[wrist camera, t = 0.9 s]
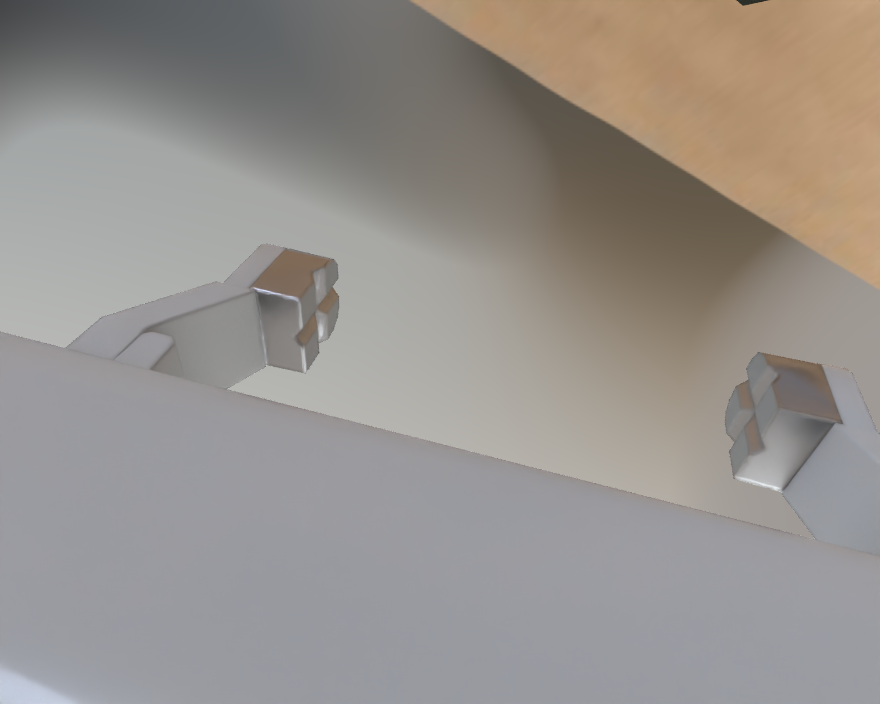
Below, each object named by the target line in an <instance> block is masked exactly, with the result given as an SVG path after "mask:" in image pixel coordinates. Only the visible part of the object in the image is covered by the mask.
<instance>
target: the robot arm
mask: <svg viewBox="0 0 880 704" xmlns="http://www.w3.org/2000/svg"><path fill="white" fill-rule="evenodd" d="M337 279H338V267H337V263H336V261H335V260H334V259H330V258H326V257H322V256H318V255H314V254H310V253H305V252H301V251H297V250H293V249H287V248H284V247H280V246H275V245H271V244H262V245H260V246H259V247H258V248H257V249H256V250H255V251H254V252H253V253H252V254H251V255H250V256H249V257H248V258H247V259H246V260H245V261H244V262H243V263H242V264H241V265H240V266H239V267H238V268H237V269H236V270H235V271H234V272H233V273H232V274H231V275H230V276H229V277H228V278H227V279H226V280H225V281H224V282H223V283H221V282H212V283H209V284H206V285H203V286H200V287H197V288H193V289H190V290H187V291H184V292H180V293H177V294H175V295H171V296H168V297H164V298H161V299H158V300H155V301H152V302H149V303H145V304H142V305H139V306H136V307H132V308H129V309H126V310H123V311H120V312H117V313H113V314H110V315H107V316H104V317H102V318H100V319H99V320H98V321H97V322H95V323H94V324H93V325H92V326H91V327H89V328H88V329H87V330H86V331H85V332H84V333H82V334H81V335H80V336H79V337H78V338H76V339H75V340H74V341H73V342H72V343H71V344H69V345H68V346H67V347H66V348H62V347H58V346H54V345H51V344H47V343H43V342H39V341H35V340H31V339H27V338H23V337H19V336H15V335H11V334H7V333H4V332H0V704H880V433H878V432H877V430H876V427H875V425H874V422H873V420H872V418H871V415H870V413H869V411H868V408H867V406H866V404H865V401H864V399H863V396H862V394H861V392H860V390H859V387H858V385H857V382H856V380H855V378H854V375H853V373H852V372H850V371H849V370H848V369H845V368H839V367H834V366H829V365H824V364H818V363H817V364H815V363H810V362H805V361H800V360H795V359H790V358H786V357H781V356H776V355H771V354H766V353H760V352H758V353H757V354H756V355H755V356H754V357H753V358H752V360H751V361H750V363H749V365H748V366H747V368H746V370H747V374H748V380H747V381H745V382H743V383H741V384H739V385H737V386H736V387H735V389H734V391H733V393H732V396H731V397H730V399H729V403H728V406H727V410H726V416H725V426H726V433H727V435H728V436H729V437H730V438H731V439H732V440H733V441H734V444H733V446H732V448H731V449H730V451H729V453H730V459H731V465H732V472H733V478H734V479H736V480H740V481H744V482H747V483H751V484H755V485H758V486H762V487H766V488H769V489H773V490H777V491H780V492H782V495H783V497H784V498H785V499H786V501H787V502H788V503H789V504H790V506H791V507H792V508H793V510H794V511H795V513H796V514H797V515H798V517H799V518H800V519H801V521H802V522H803V523H804V525H805V526H806V527H807V529H808V530H809V531H810V533H811V534H812V535H813V537H814V538H815V539H811V538H808V537H804V536H800V535H796V534H792V533H788V532H784V531H780V530H776V529H772V528H768V527H765V526H761V525H757V524H753V523H749V522H745V521H741V520H737V519H733V518H729V517H725V516H721V515H717V514H714V513H709V512H706V511H702V510H698V509H693V508H690V507H686V506H682V505H678V504H674V503H670V502H666V501H662V500H659V499H655V498H651V497H647V496H643V495H639V494H635V493H631V492H627V491H623V490H619V489H615V488H611V487H608V486H603V485H599V484H596V483H592V482H588V481H584V480H580V479H576V478H572V477H568V476H564V475H560V474H556V473H553V472H549V471H544V470H541V469H537V468H533V467H529V466H525V465H521V464H517V463H513V462H509V461H505V460H502V459H498V458H494V457H490V456H486V455H482V454H478V453H474V452H470V451H466V450H462V449H458V448H454V447H450V446H447V445H443V444H439V443H435V442H431V441H427V440H423V439H419V438H415V437H411V436H407V435H403V434H399V433H396V432H392V431H388V430H384V429H380V428H376V427H372V426H368V425H364V424H360V423H356V422H352V421H349V420H344V419H340V418H337V417H333V416H329V415H325V414H321V413H317V412H313V411H309V410H305V409H301V408H298V407H294V406H290V405H286V404H282V403H278V402H274V401H270V400H266V399H262V398H258V397H255V396H251V395H246V394H243V393H239V392H235V391H231V390H227V388H229V387H231V386H233V385H235V384H236V383H238V382H240V381H241V380H243V379H245V378H247V377H249V376H250V375H252V374H254V373H256V372H258V371H259V370H261V369H263V368H264V367H266V365H269V366H274V367H279V368H283V369H288V370H292V371H297V372H301V373H306V372H307V370H308V369H309V367H310V366H311V364H312V363H313V361H314V360H315V358H316V357H317V355H318V354H319V343H320V342H323V341H325V340H327V339H328V338H329V337H330V335H331V333H332V332H333V330H334V327H335V324H336V321H337V318H338V310H339V296H338V294H337V293H336V292H335V290H334V289H333V285H334V284H335V282H336V281H337Z"/></svg>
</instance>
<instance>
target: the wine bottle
mask: <svg viewBox="0 0 880 704" xmlns="http://www.w3.org/2000/svg"><path fill="white" fill-rule="evenodd" d="M737 1H738V2H739V3H740V4H742V5H743V6H744V5H749V4H753V3H758V2H763V1H768V0H737Z"/></svg>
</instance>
